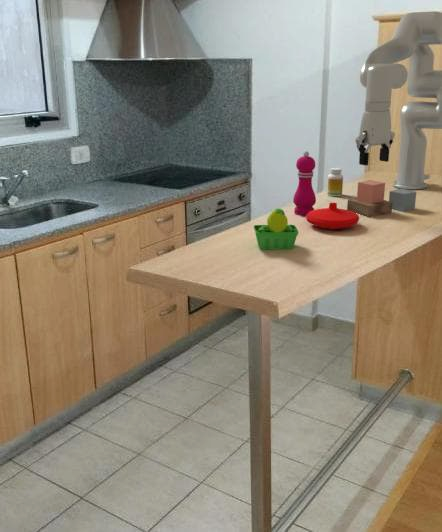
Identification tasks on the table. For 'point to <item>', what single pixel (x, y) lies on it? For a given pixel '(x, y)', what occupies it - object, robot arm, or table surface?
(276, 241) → the fruit basket
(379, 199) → the salmon pink cube
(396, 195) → the grey cube
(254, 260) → the table surface
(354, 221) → the flat cone with hole
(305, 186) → the pepper mill
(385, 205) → the walnut block
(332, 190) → the supplement bottle
